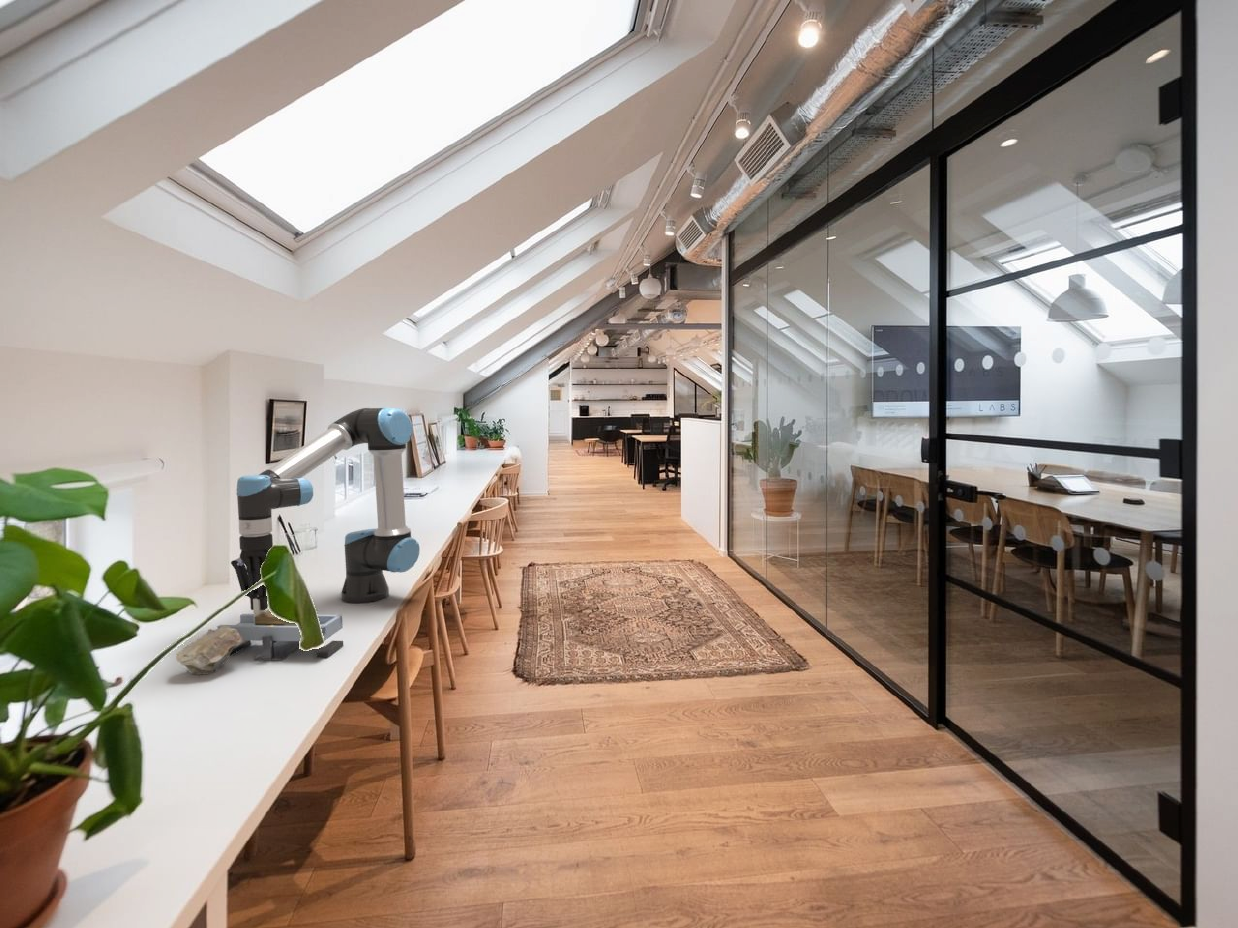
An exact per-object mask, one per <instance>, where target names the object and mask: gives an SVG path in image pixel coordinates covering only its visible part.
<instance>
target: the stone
mask: <svg viewBox="0 0 1238 928" xmlns="http://www.w3.org/2000/svg"><path fill="white" fill-rule="evenodd" d="M242 642H243V639H242V638H241V636H240V635H239V633H238V631H237V630H236V629H233V628H230V627H228V626H222V627H221V628H219V629H218V628H217V629H216V630H215V629H212V628H208V629H207V632H206V633H205V634H203V635H202V637H198V638H197V639H196V640H195V641H192V642H191V643H190V644H188V645H186V646H185V647H183V649H182V650H180V651H178V652H177V653H176V656H175V657H176V658H175V659H176V662H177V663H179V664H181V666H185V667H186V669H187V670H189V672H190V673H191V675H210V674H214V673H216V672H217V671H218V670H220V668H221V667H222V666H223V665H224V663H226V661H227V660H228V658H229V657H230V656H229V655H230V653H231V651H232V650H233V648H234V647H235V646H238V645H239V644H241V643H242Z"/></svg>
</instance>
